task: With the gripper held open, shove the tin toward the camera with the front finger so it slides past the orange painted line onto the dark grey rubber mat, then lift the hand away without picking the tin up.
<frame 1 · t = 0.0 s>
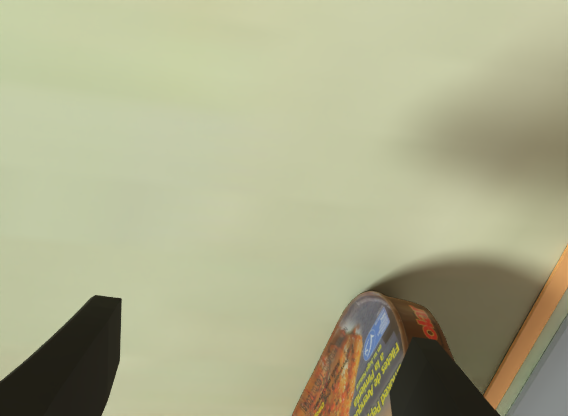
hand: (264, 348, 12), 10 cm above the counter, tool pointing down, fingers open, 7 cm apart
tin: (342, 366, 27), on the counter
throw line: (495, 388, 27), on the counter
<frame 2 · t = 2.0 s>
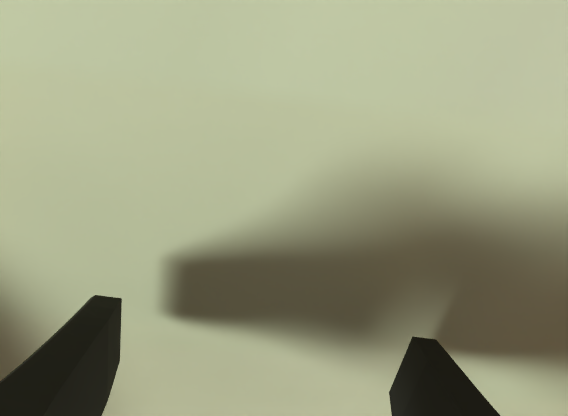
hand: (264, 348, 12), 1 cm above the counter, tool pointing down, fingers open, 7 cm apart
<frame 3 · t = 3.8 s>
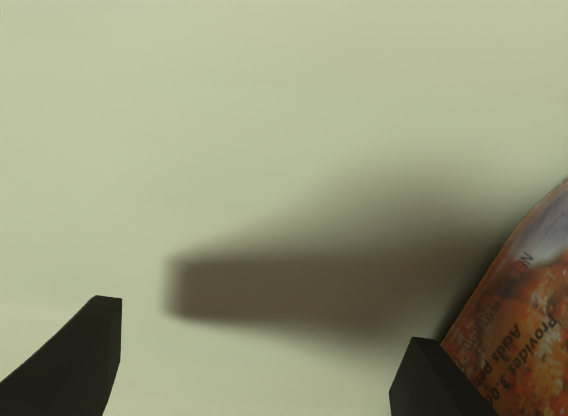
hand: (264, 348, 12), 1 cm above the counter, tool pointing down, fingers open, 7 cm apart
tin: (484, 338, 14), on the counter
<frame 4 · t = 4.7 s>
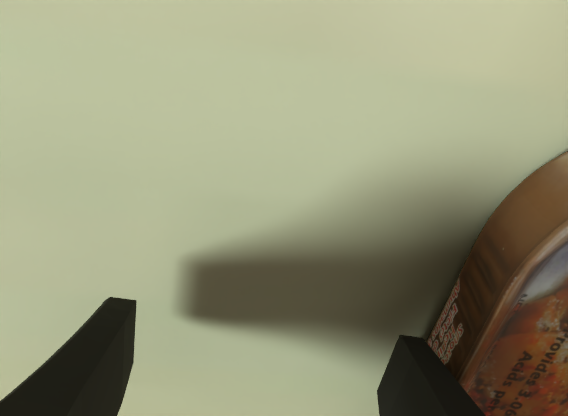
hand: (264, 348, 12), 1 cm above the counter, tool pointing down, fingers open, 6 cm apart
tin: (423, 356, 13), point 1 cm above the counter, touching gripper
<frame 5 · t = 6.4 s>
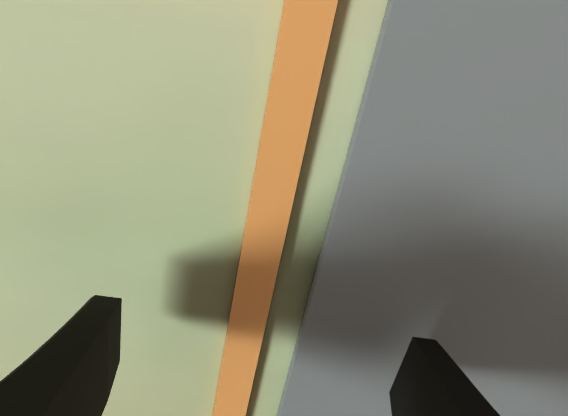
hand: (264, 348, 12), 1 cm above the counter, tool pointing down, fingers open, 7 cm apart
throw line: (249, 308, 13), on the counter
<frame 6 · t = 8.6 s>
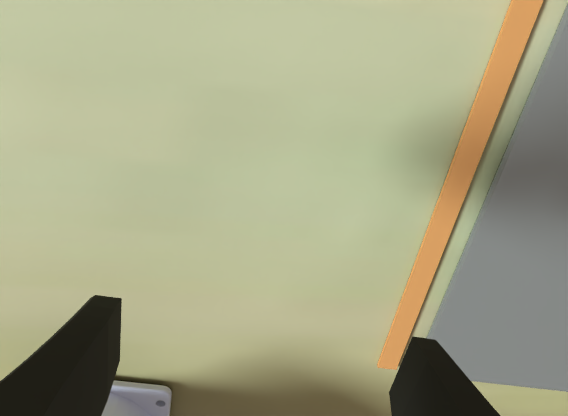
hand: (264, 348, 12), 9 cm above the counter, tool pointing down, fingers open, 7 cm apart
throw line: (449, 200, 21), on the counter
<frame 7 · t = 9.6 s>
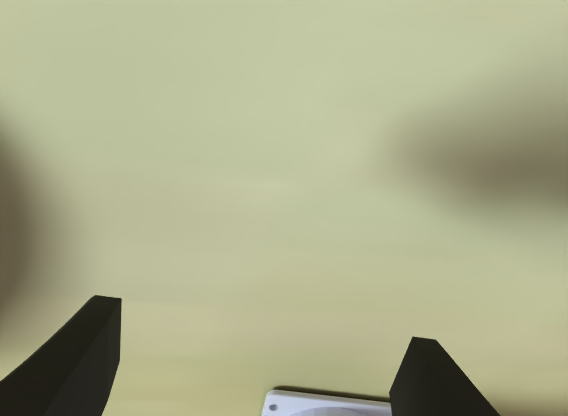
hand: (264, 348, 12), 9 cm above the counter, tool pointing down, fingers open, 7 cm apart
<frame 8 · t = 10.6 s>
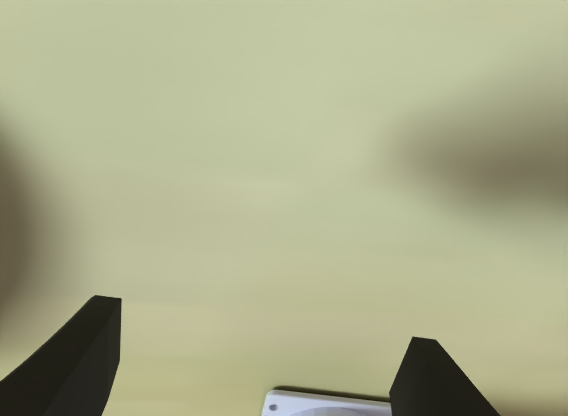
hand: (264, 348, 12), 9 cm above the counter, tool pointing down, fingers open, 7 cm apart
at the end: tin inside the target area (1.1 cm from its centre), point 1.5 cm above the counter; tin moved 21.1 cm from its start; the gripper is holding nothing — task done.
